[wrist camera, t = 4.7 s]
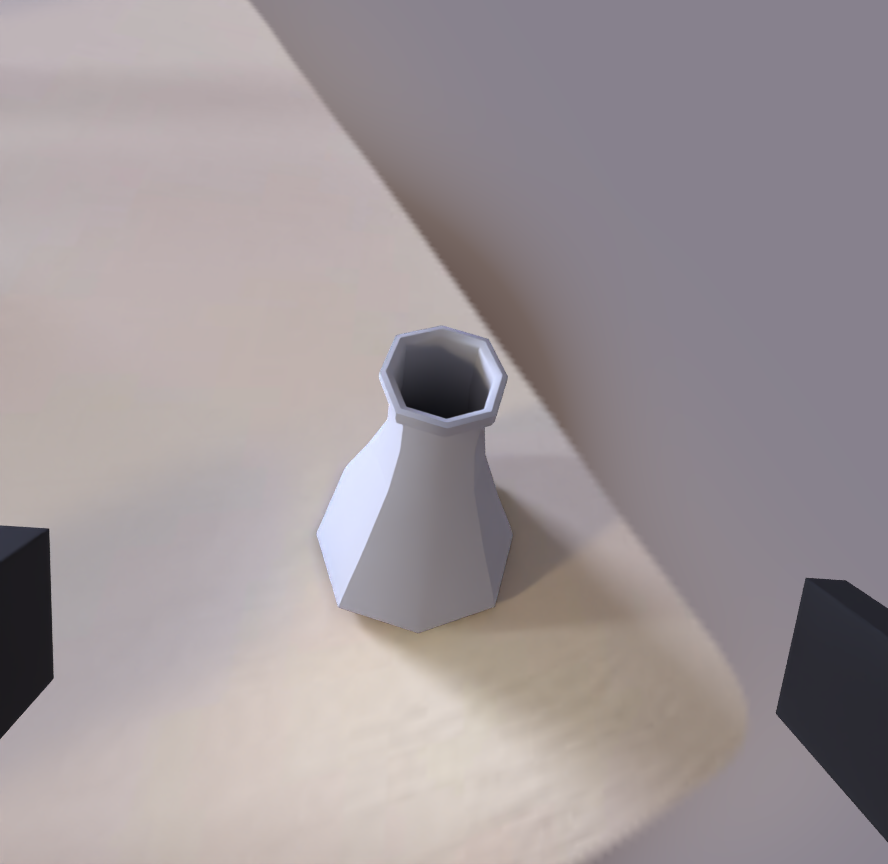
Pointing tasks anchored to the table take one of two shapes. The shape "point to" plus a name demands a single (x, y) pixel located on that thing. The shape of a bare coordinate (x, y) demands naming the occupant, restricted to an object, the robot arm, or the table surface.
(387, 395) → the flask
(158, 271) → the table surface
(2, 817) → the table surface
